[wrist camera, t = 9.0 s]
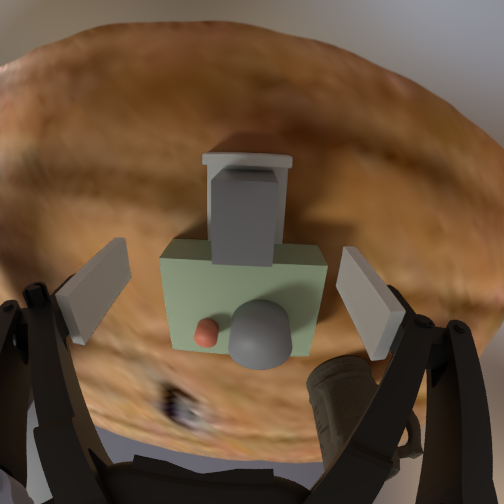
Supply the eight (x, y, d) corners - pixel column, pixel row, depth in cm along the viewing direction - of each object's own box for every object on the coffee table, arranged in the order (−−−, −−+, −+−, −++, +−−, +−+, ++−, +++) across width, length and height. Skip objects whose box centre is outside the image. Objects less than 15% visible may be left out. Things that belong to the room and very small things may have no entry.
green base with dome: (181, 323, 35) (164, 373, 26) (170, 152, 26) (133, 162, 18) (303, 329, 35) (313, 381, 26) (327, 158, 26) (358, 171, 18)
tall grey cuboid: (221, 234, 29) (211, 264, 23) (222, 168, 26) (210, 180, 20) (268, 236, 29) (272, 267, 23) (273, 170, 26) (278, 182, 20)
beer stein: (305, 402, 42) (327, 502, 24) (296, 366, 38) (325, 488, 19) (386, 376, 41) (428, 464, 23) (391, 336, 37) (450, 437, 18)
